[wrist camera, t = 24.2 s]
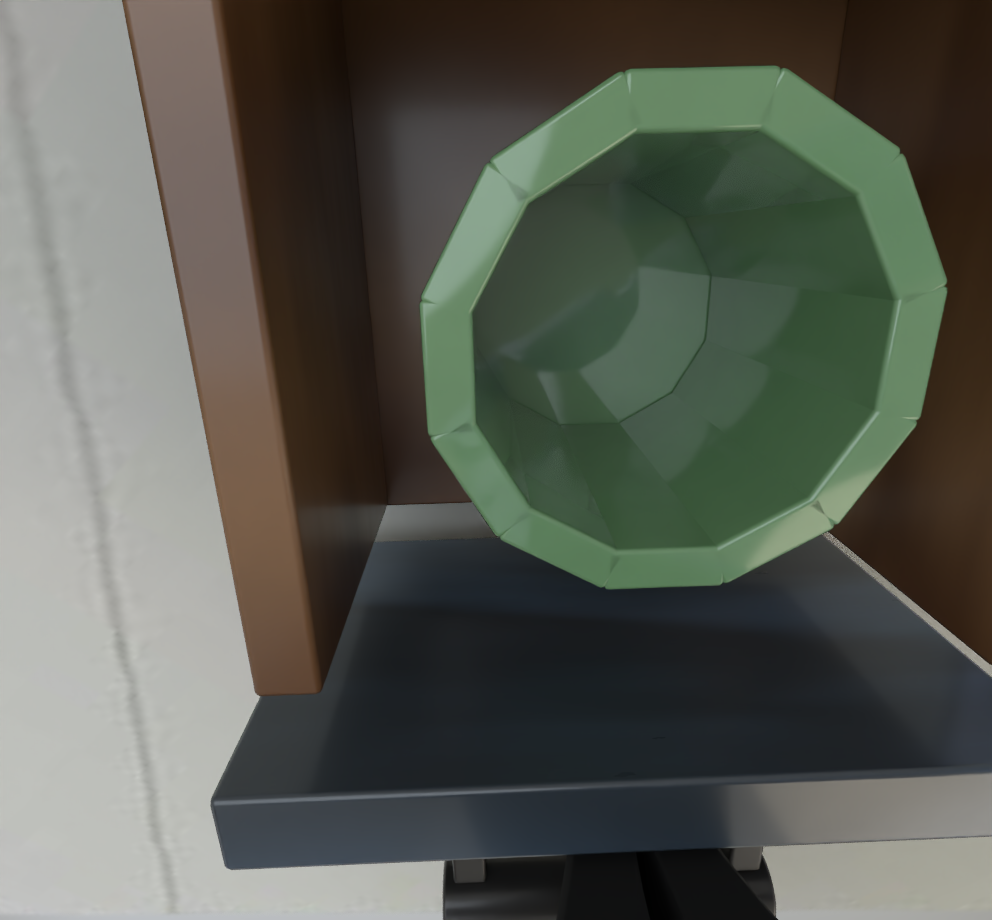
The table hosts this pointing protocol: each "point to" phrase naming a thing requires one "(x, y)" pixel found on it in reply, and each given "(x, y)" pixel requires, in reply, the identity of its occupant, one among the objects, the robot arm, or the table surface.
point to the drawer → (428, 480)
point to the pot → (681, 326)
